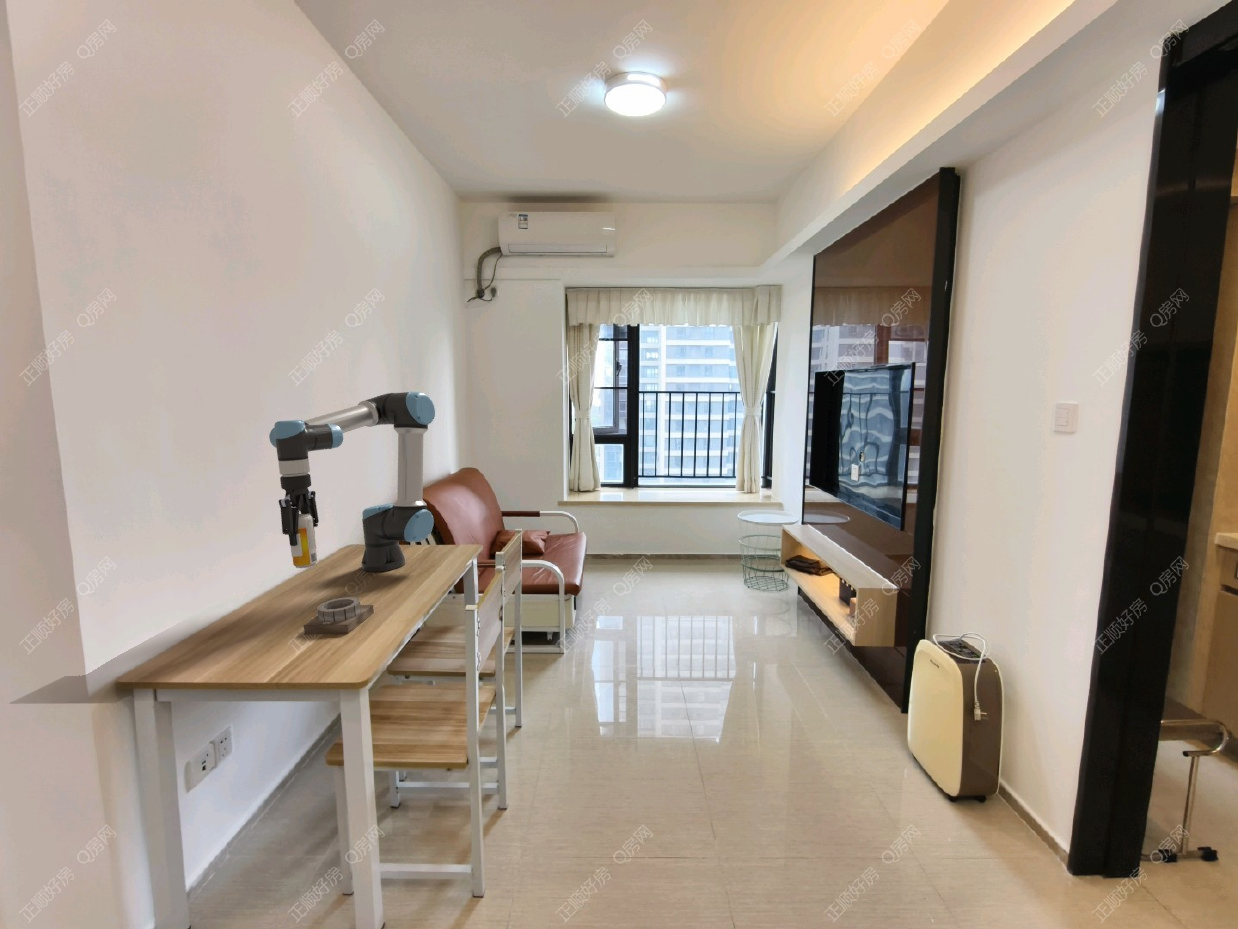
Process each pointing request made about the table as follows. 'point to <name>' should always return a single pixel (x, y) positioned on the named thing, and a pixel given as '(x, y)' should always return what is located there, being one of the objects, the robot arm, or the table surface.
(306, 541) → the beer can
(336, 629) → the cup holder
